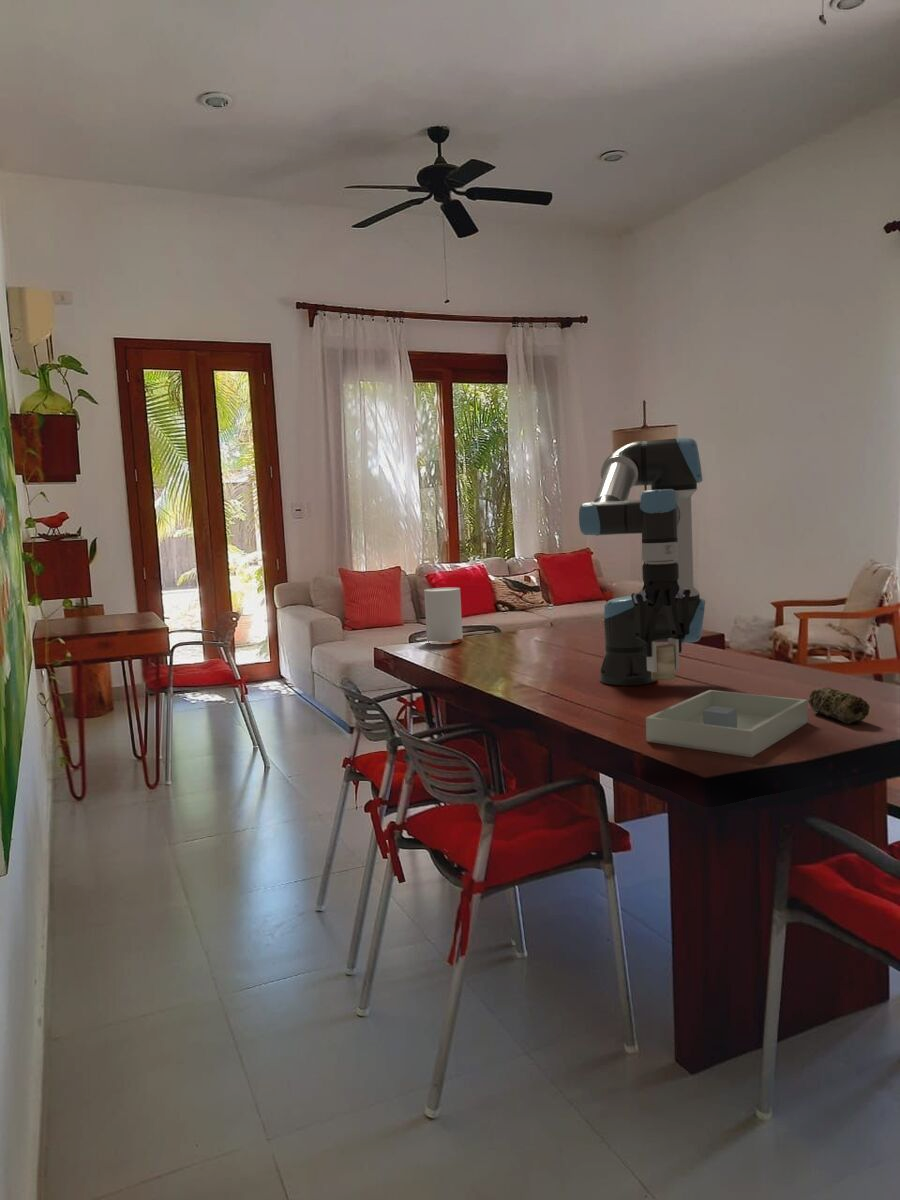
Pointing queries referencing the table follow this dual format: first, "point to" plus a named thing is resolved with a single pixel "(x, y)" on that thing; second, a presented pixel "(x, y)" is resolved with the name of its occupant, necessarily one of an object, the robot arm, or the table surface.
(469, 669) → the table surface
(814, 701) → the coral
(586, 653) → the table surface
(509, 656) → the table surface
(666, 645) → the beech cylinder
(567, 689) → the table surface
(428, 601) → the canister
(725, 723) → the slate cube
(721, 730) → the tote
